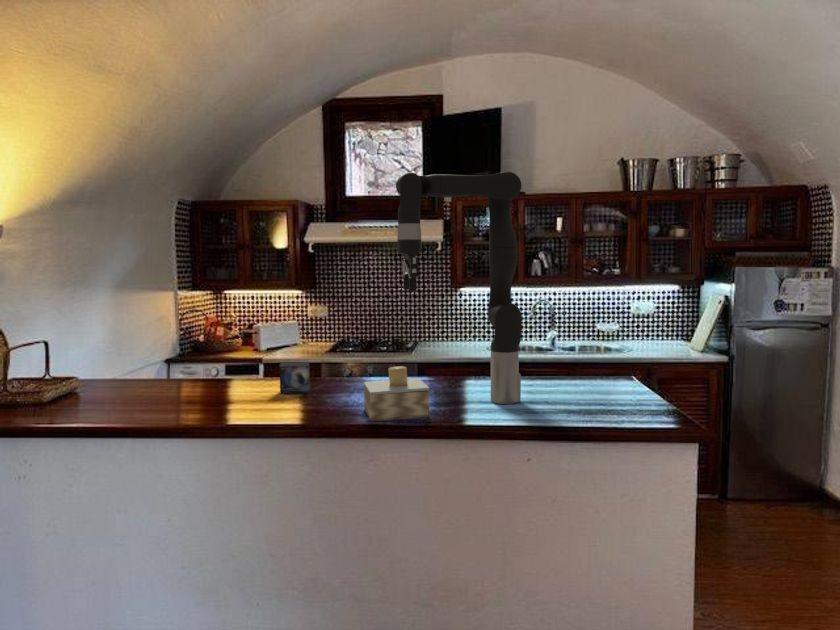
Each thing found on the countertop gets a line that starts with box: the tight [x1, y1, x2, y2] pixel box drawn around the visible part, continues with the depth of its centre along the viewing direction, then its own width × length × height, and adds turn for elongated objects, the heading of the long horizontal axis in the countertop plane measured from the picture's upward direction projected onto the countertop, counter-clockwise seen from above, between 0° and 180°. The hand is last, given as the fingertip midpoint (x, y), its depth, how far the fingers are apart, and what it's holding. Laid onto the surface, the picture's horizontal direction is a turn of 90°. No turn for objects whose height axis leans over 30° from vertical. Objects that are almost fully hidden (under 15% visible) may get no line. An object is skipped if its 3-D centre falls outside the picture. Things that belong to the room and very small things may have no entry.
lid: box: [363, 377, 430, 395], centre depth 185 cm, size 18×14×1 cm
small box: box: [279, 361, 311, 395], centre depth 214 cm, size 11×6×10 cm, turn 101°
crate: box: [363, 385, 430, 422], centre depth 185 cm, size 18×14×8 cm
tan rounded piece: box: [388, 365, 408, 386], centre depth 185 cm, size 6×6×5 cm
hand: (409, 290), depth 188 cm, fingers open, 8 cm apart
